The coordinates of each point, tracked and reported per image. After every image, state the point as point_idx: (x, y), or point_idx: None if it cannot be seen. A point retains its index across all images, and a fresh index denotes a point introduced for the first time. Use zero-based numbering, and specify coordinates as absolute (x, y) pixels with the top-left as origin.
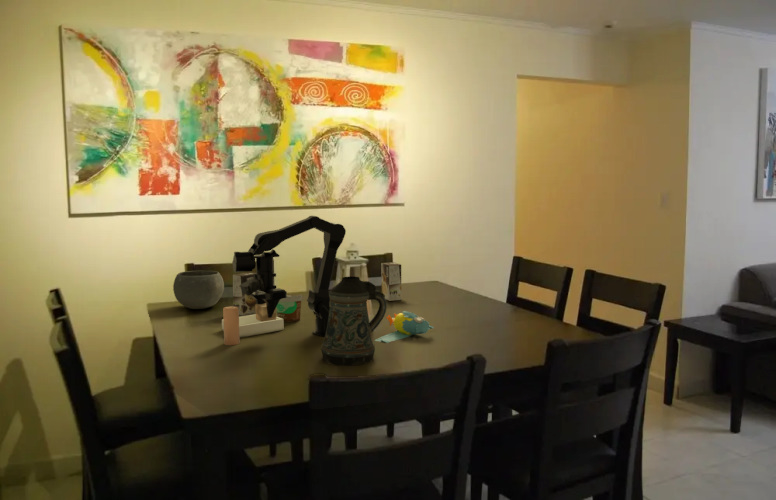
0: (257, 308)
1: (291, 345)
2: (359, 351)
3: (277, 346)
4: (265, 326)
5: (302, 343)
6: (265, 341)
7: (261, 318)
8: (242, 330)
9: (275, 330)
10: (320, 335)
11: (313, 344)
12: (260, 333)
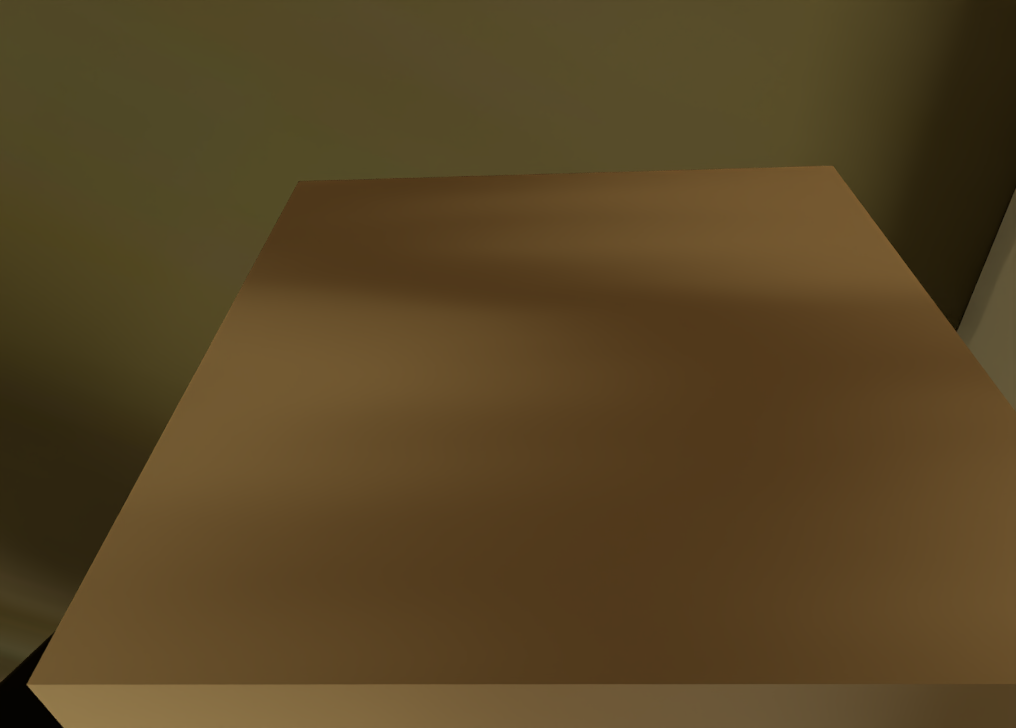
0: (800, 485)
1: (43, 283)
2: None
3: (45, 91)
4: (1013, 392)
5: (105, 420)
6: (484, 79)
7: (386, 226)
8: None
9: None
10: None
11: (13, 478)
12: (997, 246)
